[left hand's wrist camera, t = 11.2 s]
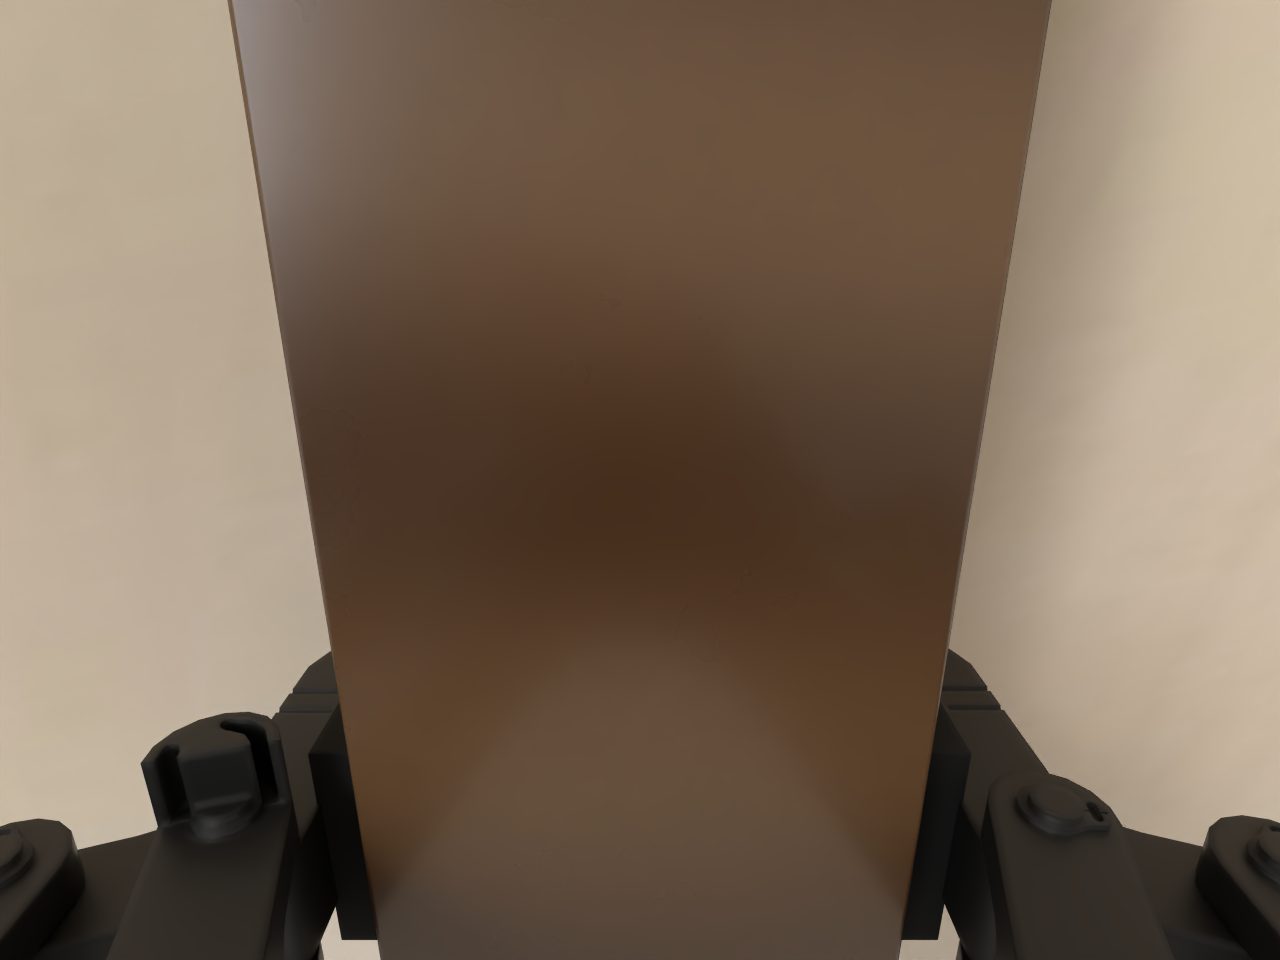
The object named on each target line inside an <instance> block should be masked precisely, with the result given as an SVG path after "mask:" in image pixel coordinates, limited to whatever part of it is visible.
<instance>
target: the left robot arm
mask: <svg viewBox="0 0 1280 960" xmlns="http://www.w3.org/2000/svg"><path fill="white" fill-rule="evenodd" d="M141 767H142V770H143V774H144V778H145V781H146V785H147V788H148V792H149V796H150V799H151V803H152V807H153V810H154V814H155V817H156V821H157V825H158V828H157V830H156V831H152V832H149V833H146V834H142V835H139V836H135V837H131V838H127V839H122V840H118V841H114V842H109V843H105V844H101V845H97V846H92V847H88V848H84V849H79V850H77V847H76V844H75V841H74V838H73V835H72V832H71V830H69V829H68V828H67V827H66V826H65V825H63V824H62V823H61V822H60V821H53V820H45V819H33V820H26V821H20V822H14V823H9V824H7V825H4V826H1V827H0V960H324V956H323V951H322V946H321V939H322V937H323V934H324V932H325V930H326V927H327V925H328V923H329V920H330V918H331V916H332V913H333V911H334V909H335V906H336V911H337V916H338V922H339V927H340V933H341V938H342V940H377V933H376V927H375V921H374V915H373V908H372V902H371V896H370V890H369V883H368V877H367V871H366V864H365V858H364V852H363V846H362V839H361V833H360V827H359V821H358V814H357V808H356V802H355V796H354V789H353V783H352V777H351V770H350V764H349V758H348V752H347V745H346V739H345V733H344V727H343V720H342V714H341V708H340V702H339V695H338V689H337V683H336V676H335V670H334V664H333V658H332V651H330V652H329V653H327V654H326V655H325V656H323V657H322V658H320V659H319V660H318V661H316V662H315V663H313V664H312V665H310V666H309V667H308V669H307V670H306V671H305V673H304V674H303V676H302V677H301V678H300V680H299V681H298V683H297V684H296V685H295V687H294V688H293V693H292V694H289V695H288V697H287V698H286V700H285V701H284V702H283V704H282V705H281V707H280V711H279V713H276V714H275V715H274V716H273V718H272V719H270V718H269V717H268V716H264V715H260V714H255V713H251V712H238V713H224V714H220V715H216V716H212V717H208V718H205V719H201V720H198V721H196V722H193V723H191V724H189V725H187V726H185V727H183V728H181V729H178V730H176V731H174V732H173V733H171V734H170V735H169V736H167V737H166V738H164V739H163V740H162V741H160V742H159V743H158V744H156V745H155V746H154V747H153V748H152V749H151V750H150V752H149V753H148V754H147V756H146V757H145V758H144V760H143V761H142V762H141ZM944 904H945V906H946V908H947V911H948V913H949V915H950V918H951V920H952V922H953V925H954V927H955V929H956V931H957V934H958V936H959V938H960V941H959V946H958V951H957V956H956V960H1280V823H1278V822H1275V821H1272V820H1269V819H1263V818H1256V817H1250V816H1244V815H1240V816H1233V817H1225V818H1220V819H1219V820H1218V821H1217V822H1215V823H1214V824H1213V825H1212V826H1211V827H1209V830H1208V833H1207V836H1206V839H1205V842H1204V845H1203V847H1202V846H1197V845H1193V844H1189V843H1184V842H1180V841H1176V840H1171V839H1167V838H1163V837H1158V836H1154V835H1150V834H1145V833H1141V832H1138V831H1135V830H1131V829H1128V828H1125V827H1123V826H1122V825H1121V823H1120V821H1119V820H1118V818H1117V817H1116V815H1115V814H1114V812H1113V811H1112V809H1111V808H1110V807H1109V806H1108V805H1107V804H1105V803H1104V802H1103V801H1102V800H1101V799H1099V798H1098V797H1097V796H1096V795H1095V794H1094V793H1092V792H1091V791H1089V790H1087V789H1085V788H1084V787H1082V786H1080V785H1078V784H1076V783H1074V782H1072V781H1070V780H1068V779H1066V778H1062V777H1059V776H1056V775H1052V774H1049V772H1048V771H1047V770H1046V768H1045V767H1044V765H1043V764H1042V763H1041V761H1040V760H1039V758H1038V757H1037V756H1036V754H1035V753H1034V751H1033V750H1032V749H1031V747H1030V746H1029V745H1028V743H1027V742H1026V740H1025V739H1024V738H1023V736H1022V735H1021V733H1020V732H1019V731H1018V729H1017V728H1016V726H1015V725H1014V724H1013V722H1012V721H1011V719H1010V718H1009V717H1008V715H1007V714H1006V712H1005V711H1004V710H1001V708H1000V704H999V703H998V701H997V700H996V698H995V697H994V696H993V694H992V693H991V691H987V686H986V684H985V683H984V682H983V680H982V679H981V677H980V676H979V675H978V673H977V672H976V670H975V669H974V668H973V666H972V665H971V664H970V663H969V662H967V661H966V660H964V659H963V658H962V657H960V656H959V655H957V654H956V653H954V652H953V651H952V650H950V649H949V648H948V652H947V659H946V665H945V671H944V678H943V684H942V690H941V696H940V703H939V709H938V715H937V721H936V728H935V734H934V740H933V746H932V753H931V759H930V765H929V772H928V778H927V784H926V790H925V797H924V803H923V809H922V815H921V822H920V828H919V834H918V840H917V847H916V853H915V859H914V865H913V872H912V878H911V884H910V891H909V897H908V903H907V909H906V916H905V922H904V928H903V934H902V940H938V936H939V930H940V925H941V919H942V914H943V908H944Z"/></svg>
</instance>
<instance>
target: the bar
mask: <svg viewBox="0 0 1280 960" xmlns="http://www.w3.org/2000/svg"><path fill="white" fill-rule="evenodd" d="M1051 1H1052V0H228V6H229V12H230V18H231V25H232V31H233V37H234V44H235V50H236V56H237V62H238V69H239V75H240V81H241V87H242V94H243V100H244V106H245V112H246V119H247V125H248V131H249V138H250V144H251V150H252V156H253V163H254V169H255V175H256V181H257V188H258V194H259V200H260V206H261V213H262V219H263V225H264V232H265V238H266V244H267V250H268V257H269V263H270V269H271V275H272V282H273V288H274V294H275V300H276V307H277V313H278V319H279V326H280V332H281V338H282V344H283V351H284V357H285V363H286V369H287V376H288V382H289V388H290V394H291V401H292V407H293V413H294V420H295V426H296V432H297V438H298V445H299V451H300V457H301V463H302V470H303V476H304V482H305V488H306V495H307V501H308V507H309V514H310V520H311V526H312V532H313V539H314V545H315V551H316V557H317V564H318V570H319V576H320V582H321V589H322V595H323V601H324V608H325V614H326V620H327V626H328V633H329V639H330V645H331V651H332V658H333V664H334V670H335V676H336V683H337V689H338V695H339V702H340V708H341V714H342V720H343V727H344V733H345V739H346V745H347V752H348V758H349V764H350V770H351V777H352V783H353V789H354V796H355V802H356V808H357V814H358V821H359V827H360V833H361V839H362V846H363V852H364V858H365V864H366V871H367V877H368V883H369V890H370V896H371V902H372V908H373V915H374V921H375V927H376V933H377V940H378V946H379V952H380V958H381V960H898V959H899V953H900V947H901V941H902V934H903V928H904V922H905V916H906V909H907V903H908V897H909V891H910V884H911V878H912V872H913V865H914V859H915V853H916V847H917V840H918V834H919V828H920V822H921V815H922V809H923V803H924V797H925V790H926V784H927V778H928V772H929V765H930V759H931V753H932V746H933V740H934V734H935V728H936V721H937V715H938V709H939V703H940V696H941V690H942V684H943V678H944V671H945V665H946V659H947V652H948V646H949V640H950V634H951V627H952V621H953V615H954V609H955V602H956V596H957V590H958V584H959V577H960V571H961V565H962V558H963V552H964V546H965V540H966V533H967V527H968V521H969V515H970V508H971V502H972V496H973V490H974V483H975V477H976V471H977V464H978V458H979V452H980V446H981V439H982V433H983V427H984V421H985V414H986V408H987V402H988V396H989V389H990V383H991V377H992V371H993V364H994V358H995V352H996V345H997V339H998V333H999V327H1000V320H1001V314H1002V308H1003V302H1004V295H1005V289H1006V283H1007V277H1008V270H1009V264H1010V258H1011V251H1012V245H1013V239H1014V233H1015V226H1016V220H1017V214H1018V208H1019V201H1020V195H1021V189H1022V183H1023V176H1024V170H1025V164H1026V157H1027V151H1028V145H1029V139H1030V132H1031V126H1032V120H1033V114H1034V107H1035V101H1036V95H1037V89H1038V82H1039V76H1040V70H1041V64H1042V57H1043V51H1044V45H1045V38H1046V32H1047V26H1048V20H1049V13H1050V7H1051Z"/></svg>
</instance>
